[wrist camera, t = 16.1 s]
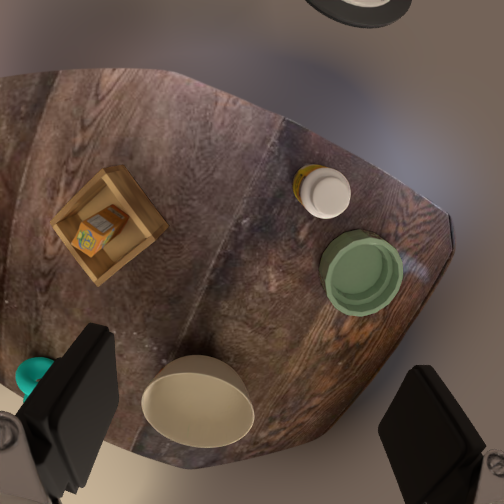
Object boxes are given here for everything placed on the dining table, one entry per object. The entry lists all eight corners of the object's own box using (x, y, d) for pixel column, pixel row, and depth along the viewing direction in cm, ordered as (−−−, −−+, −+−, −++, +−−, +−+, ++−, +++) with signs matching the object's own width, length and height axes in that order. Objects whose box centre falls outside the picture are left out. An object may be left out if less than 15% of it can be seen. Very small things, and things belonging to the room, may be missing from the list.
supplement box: (121, 236, 42) (90, 260, 32) (102, 222, 41) (67, 243, 32) (132, 216, 41) (102, 236, 32) (112, 202, 40) (78, 218, 31)
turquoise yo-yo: (72, 363, 50) (49, 397, 40) (77, 400, 53) (59, 433, 43) (30, 348, 49) (4, 377, 40) (38, 384, 52) (17, 414, 43)
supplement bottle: (289, 165, 40) (302, 170, 30) (331, 162, 40) (356, 167, 30) (292, 207, 42) (306, 226, 32) (334, 204, 42) (358, 221, 32)
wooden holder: (73, 211, 41) (49, 222, 35) (123, 164, 40) (102, 167, 33) (116, 268, 44) (97, 287, 38) (169, 226, 42) (156, 240, 36)
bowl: (192, 415, 53) (185, 456, 44) (137, 354, 49) (119, 393, 39) (270, 386, 51) (274, 429, 42) (218, 315, 47) (212, 355, 37)
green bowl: (304, 258, 44) (310, 270, 40) (369, 214, 42) (382, 221, 38) (341, 314, 47) (349, 329, 43) (400, 274, 45) (413, 286, 41)
